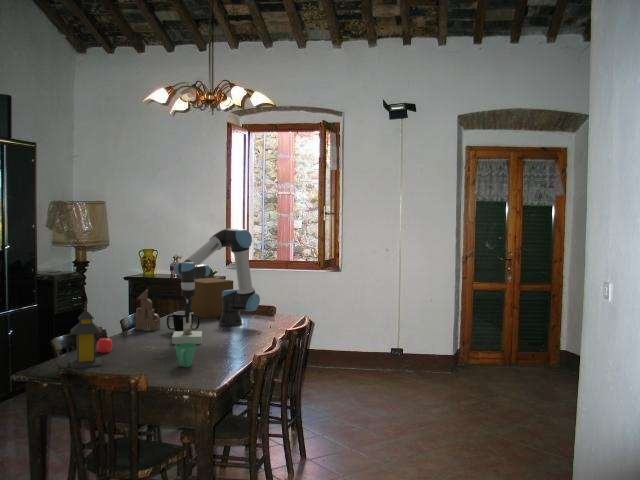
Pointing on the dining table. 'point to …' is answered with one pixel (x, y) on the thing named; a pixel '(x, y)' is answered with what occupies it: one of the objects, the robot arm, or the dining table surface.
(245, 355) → the dining table surface
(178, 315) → the mug
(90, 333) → the lantern
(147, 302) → the wooden toy
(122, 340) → the dining table surface
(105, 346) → the red rounded cube
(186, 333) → the leg
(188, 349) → the mug
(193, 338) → the board
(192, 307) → the wood block
